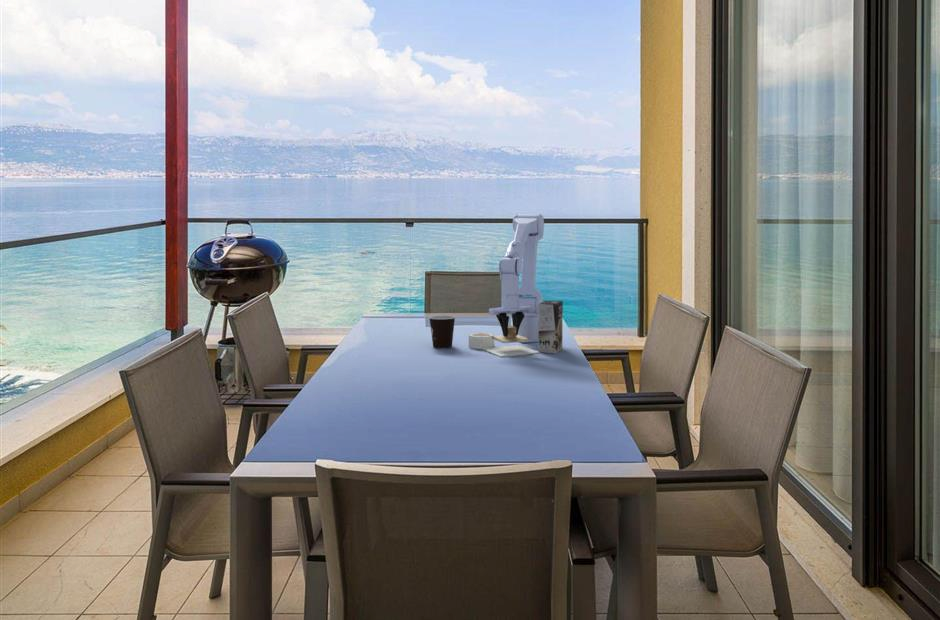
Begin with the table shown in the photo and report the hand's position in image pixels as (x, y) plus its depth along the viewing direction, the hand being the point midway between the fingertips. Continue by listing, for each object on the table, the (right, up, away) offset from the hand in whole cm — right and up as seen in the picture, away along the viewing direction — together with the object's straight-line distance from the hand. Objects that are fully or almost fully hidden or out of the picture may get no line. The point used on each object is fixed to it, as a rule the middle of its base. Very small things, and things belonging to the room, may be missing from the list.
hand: (510, 335), depth 278 cm
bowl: (-9, -4, +10) cm, 14 cm away
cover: (0, -1, 0) cm, 1 cm away
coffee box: (+13, -5, +2) cm, 14 cm away
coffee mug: (-22, -4, +12) cm, 25 cm away
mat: (0, -5, +1) cm, 5 cm away
